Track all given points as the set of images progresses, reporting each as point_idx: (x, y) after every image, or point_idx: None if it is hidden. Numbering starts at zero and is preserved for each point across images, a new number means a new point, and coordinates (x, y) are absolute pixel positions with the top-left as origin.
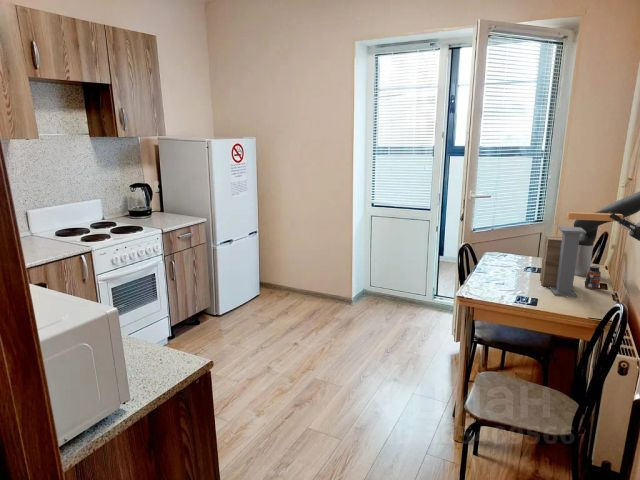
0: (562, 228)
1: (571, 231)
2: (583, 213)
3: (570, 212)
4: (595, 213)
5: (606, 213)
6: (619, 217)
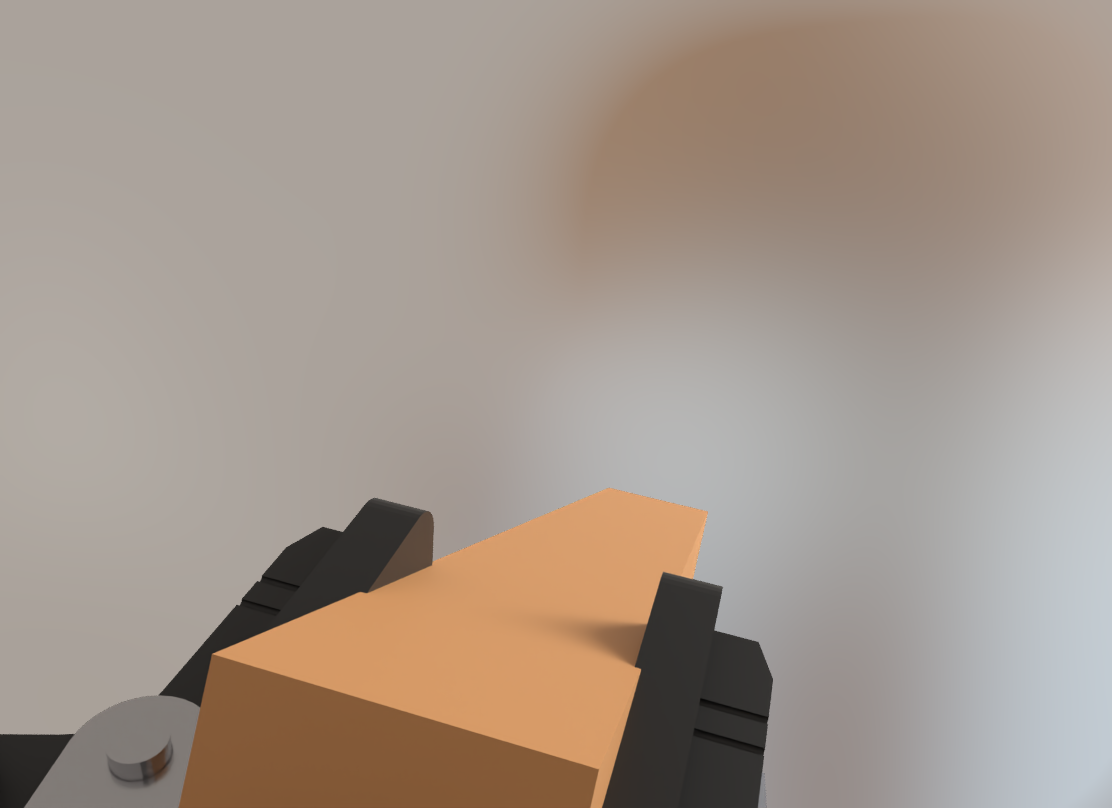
0: None
1: None
2: (593, 507)
3: (671, 505)
4: (621, 547)
5: None
6: None
